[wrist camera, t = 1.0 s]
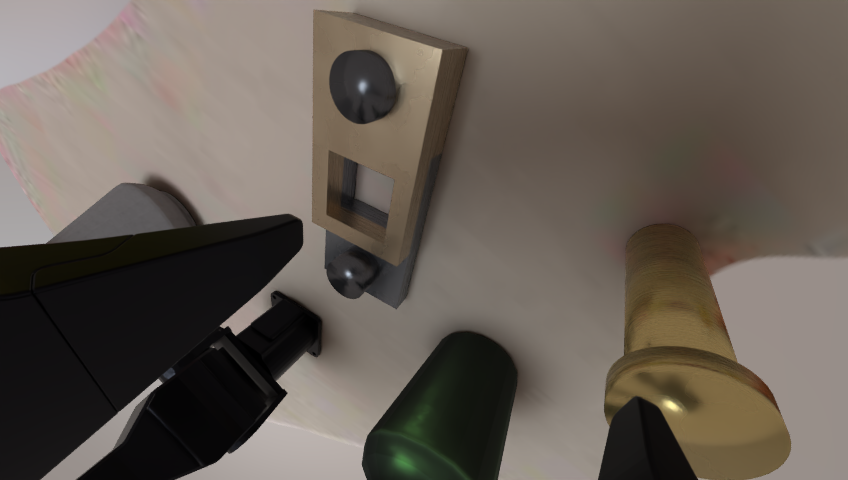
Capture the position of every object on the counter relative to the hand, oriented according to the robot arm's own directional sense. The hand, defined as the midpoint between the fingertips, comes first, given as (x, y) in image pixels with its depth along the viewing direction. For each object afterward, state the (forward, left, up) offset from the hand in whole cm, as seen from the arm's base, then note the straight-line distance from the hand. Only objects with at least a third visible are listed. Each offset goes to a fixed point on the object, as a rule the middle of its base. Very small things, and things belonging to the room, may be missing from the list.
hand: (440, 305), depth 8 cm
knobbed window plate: (-5, +9, -12) cm, 16 cm away
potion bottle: (-17, -2, -12) cm, 21 cm away
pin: (-2, -7, -12) cm, 14 cm away
